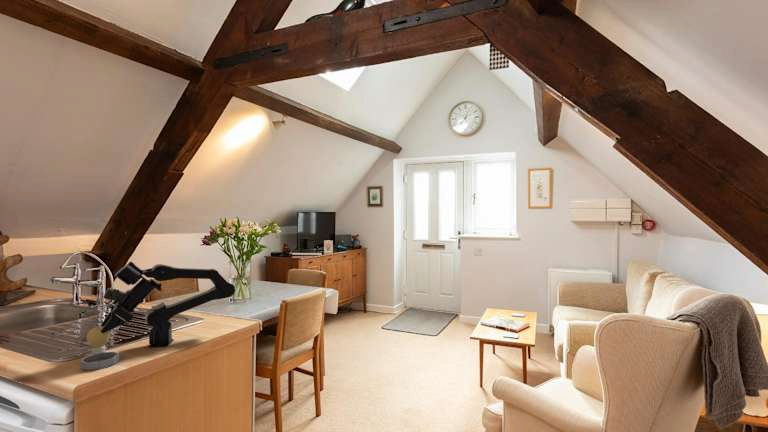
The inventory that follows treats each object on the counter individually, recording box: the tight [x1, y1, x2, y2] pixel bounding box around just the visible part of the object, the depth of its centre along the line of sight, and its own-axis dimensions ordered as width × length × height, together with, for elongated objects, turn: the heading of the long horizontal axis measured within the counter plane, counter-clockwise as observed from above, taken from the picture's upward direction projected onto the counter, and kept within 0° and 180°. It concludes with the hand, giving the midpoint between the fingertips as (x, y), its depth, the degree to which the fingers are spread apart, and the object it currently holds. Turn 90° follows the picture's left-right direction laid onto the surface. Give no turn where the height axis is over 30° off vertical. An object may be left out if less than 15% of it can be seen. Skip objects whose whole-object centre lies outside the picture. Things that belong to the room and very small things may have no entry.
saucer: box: [79, 351, 120, 371], centre depth 124 cm, size 10×10×2 cm
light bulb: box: [86, 326, 111, 355], centre depth 131 cm, size 6×6×10 cm
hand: (101, 329), depth 132 cm, fingers open, 9 cm apart
